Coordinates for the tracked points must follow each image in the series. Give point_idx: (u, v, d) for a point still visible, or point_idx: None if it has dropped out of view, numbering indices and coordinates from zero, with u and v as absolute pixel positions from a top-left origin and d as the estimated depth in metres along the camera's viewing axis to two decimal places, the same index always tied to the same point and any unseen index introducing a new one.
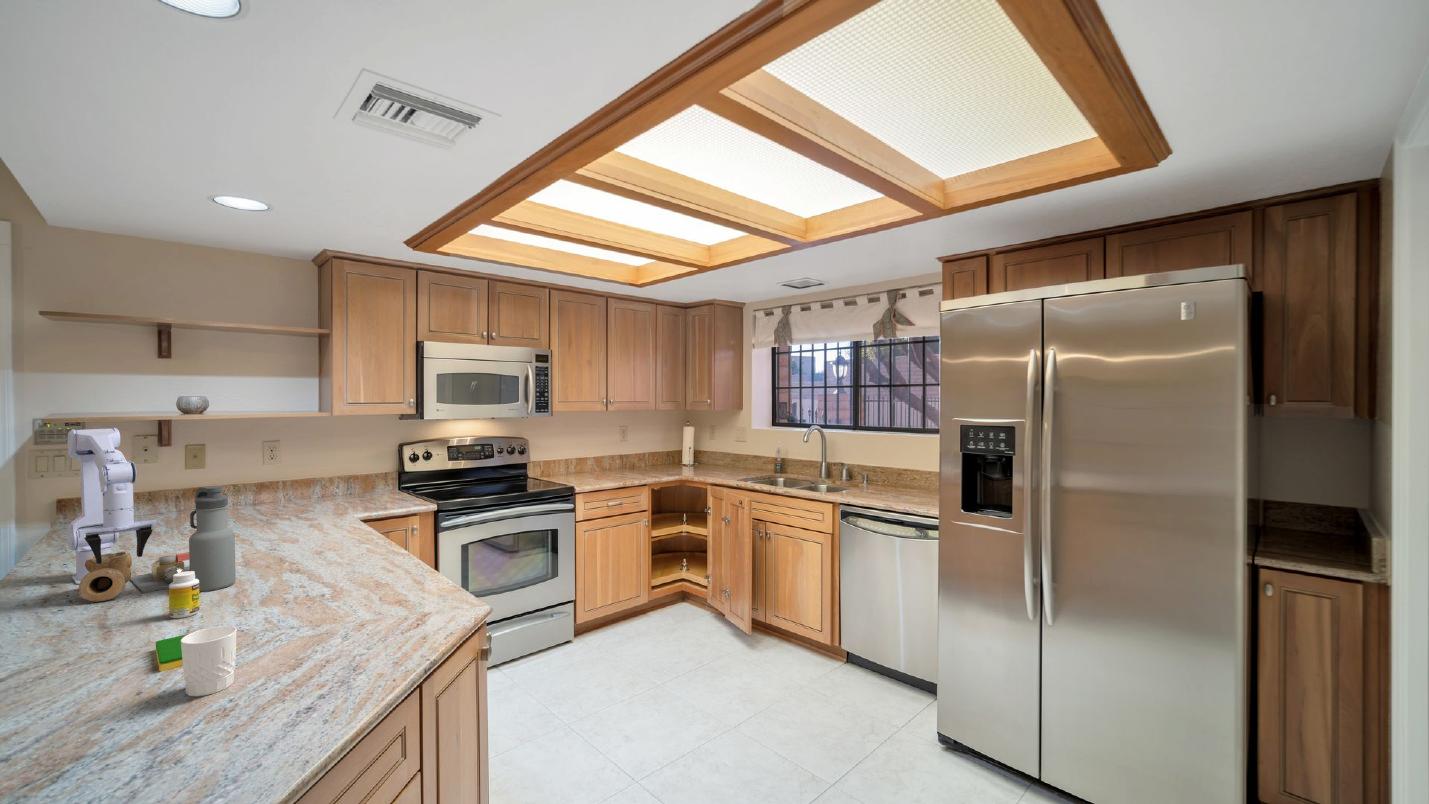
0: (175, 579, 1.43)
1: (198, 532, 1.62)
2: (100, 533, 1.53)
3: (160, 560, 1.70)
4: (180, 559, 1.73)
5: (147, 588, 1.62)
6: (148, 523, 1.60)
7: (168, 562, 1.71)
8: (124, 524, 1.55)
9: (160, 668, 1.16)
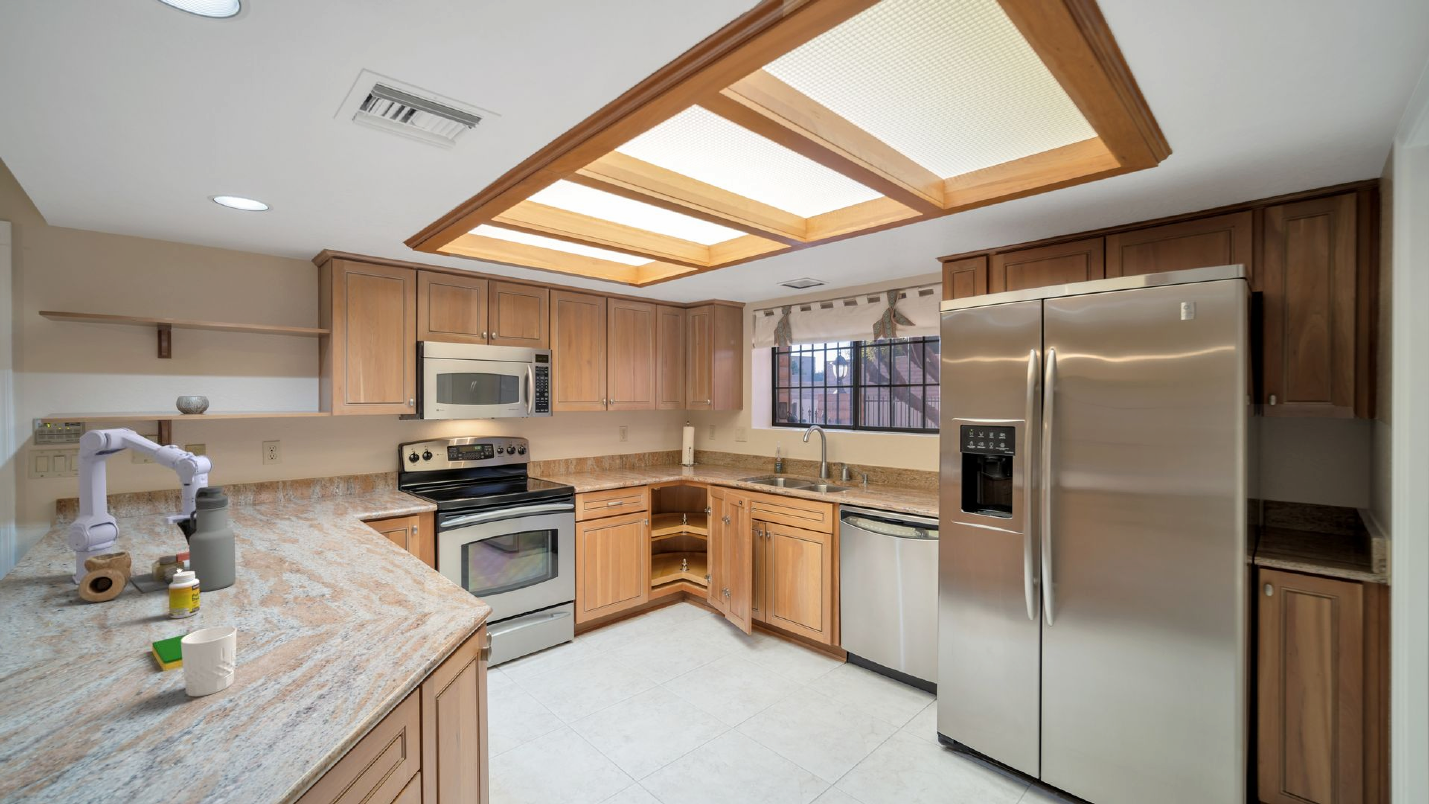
0: (175, 579, 1.43)
1: (198, 532, 1.62)
2: (182, 520, 1.69)
3: (160, 560, 1.70)
4: (180, 559, 1.73)
5: (147, 588, 1.62)
6: None
7: (168, 562, 1.71)
8: None
9: (164, 667, 1.16)
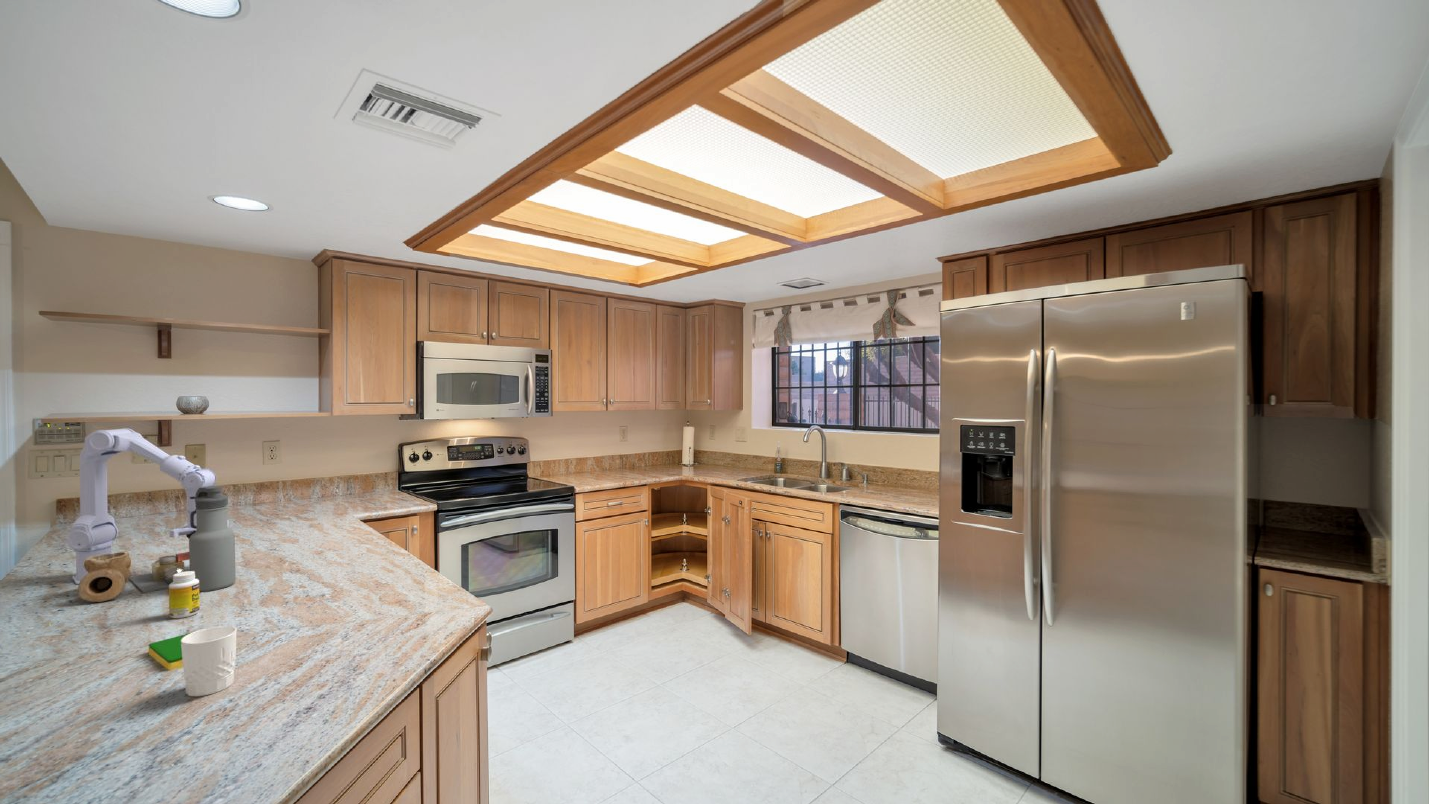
0: (175, 579, 1.43)
1: (198, 532, 1.62)
2: (187, 532, 1.73)
3: (160, 560, 1.70)
4: (180, 559, 1.74)
5: (147, 588, 1.62)
6: None
7: (168, 562, 1.71)
8: None
9: (169, 667, 1.17)
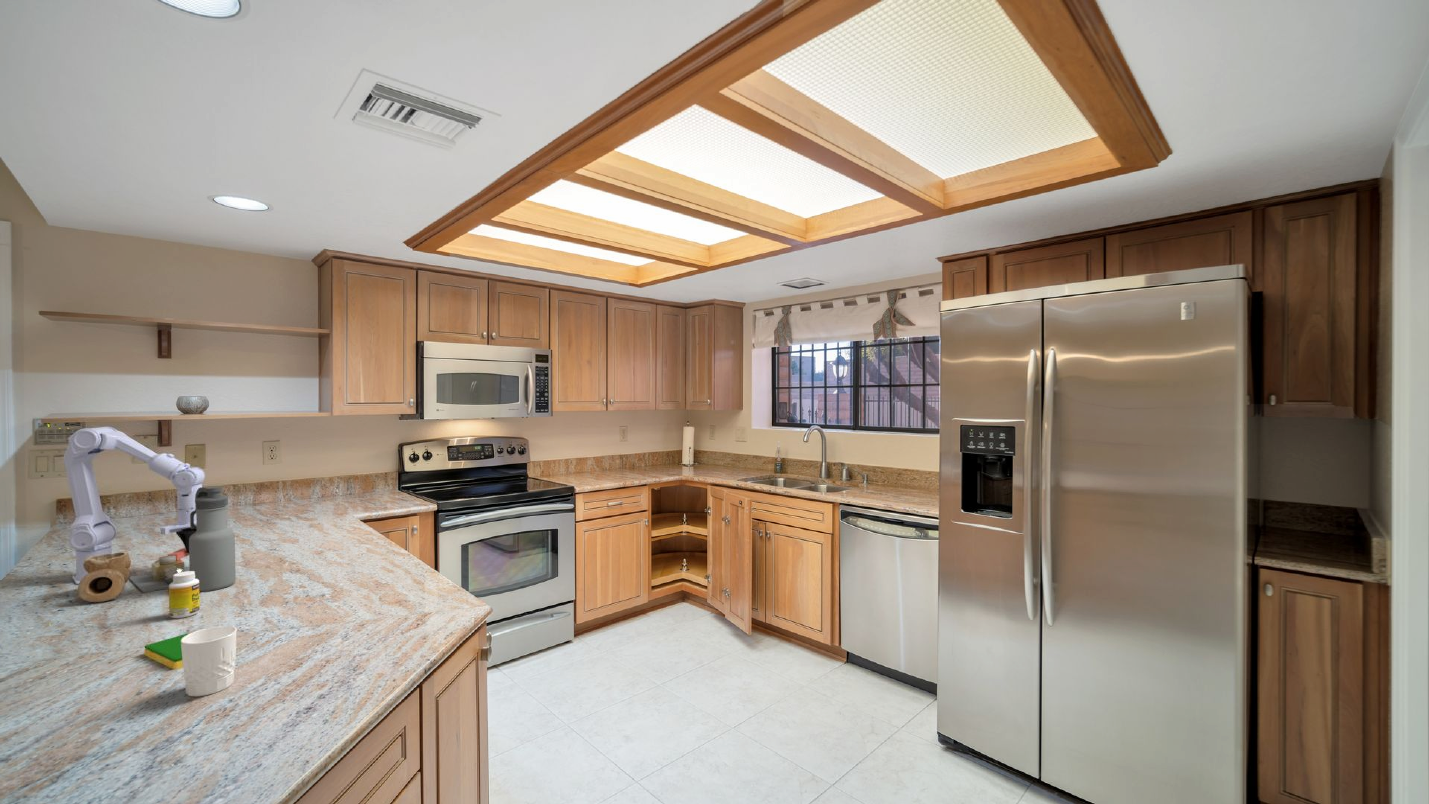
0: (175, 579, 1.43)
1: (198, 532, 1.62)
2: (178, 529, 1.76)
3: (166, 560, 1.71)
4: (178, 558, 1.75)
5: (147, 588, 1.62)
6: None
7: (174, 561, 1.72)
8: None
9: (174, 666, 1.17)
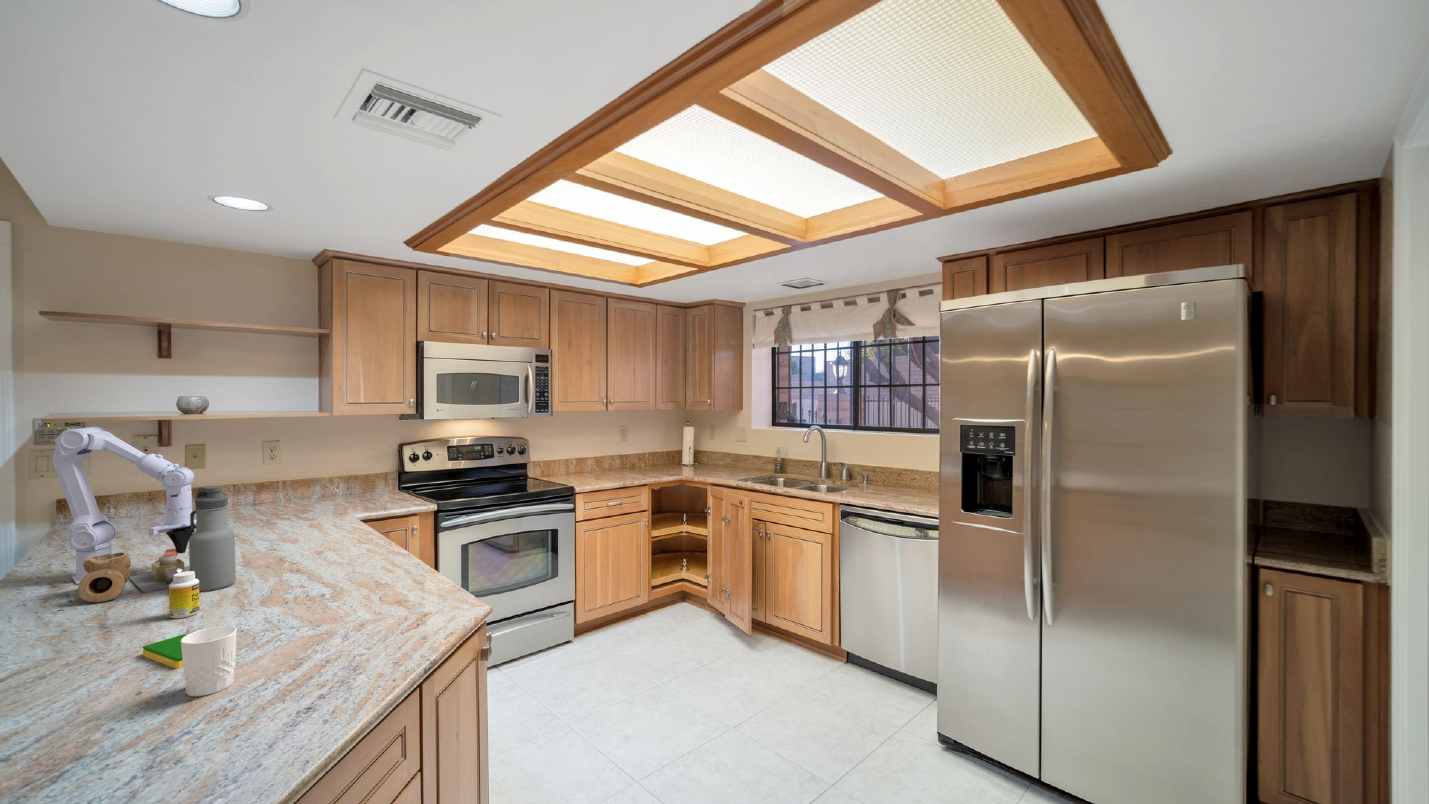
0: (175, 579, 1.43)
1: (198, 532, 1.62)
2: (167, 530, 1.75)
3: (169, 559, 1.71)
4: None
5: (147, 588, 1.62)
6: None
7: (175, 560, 1.73)
8: (188, 521, 1.78)
9: (177, 665, 1.17)
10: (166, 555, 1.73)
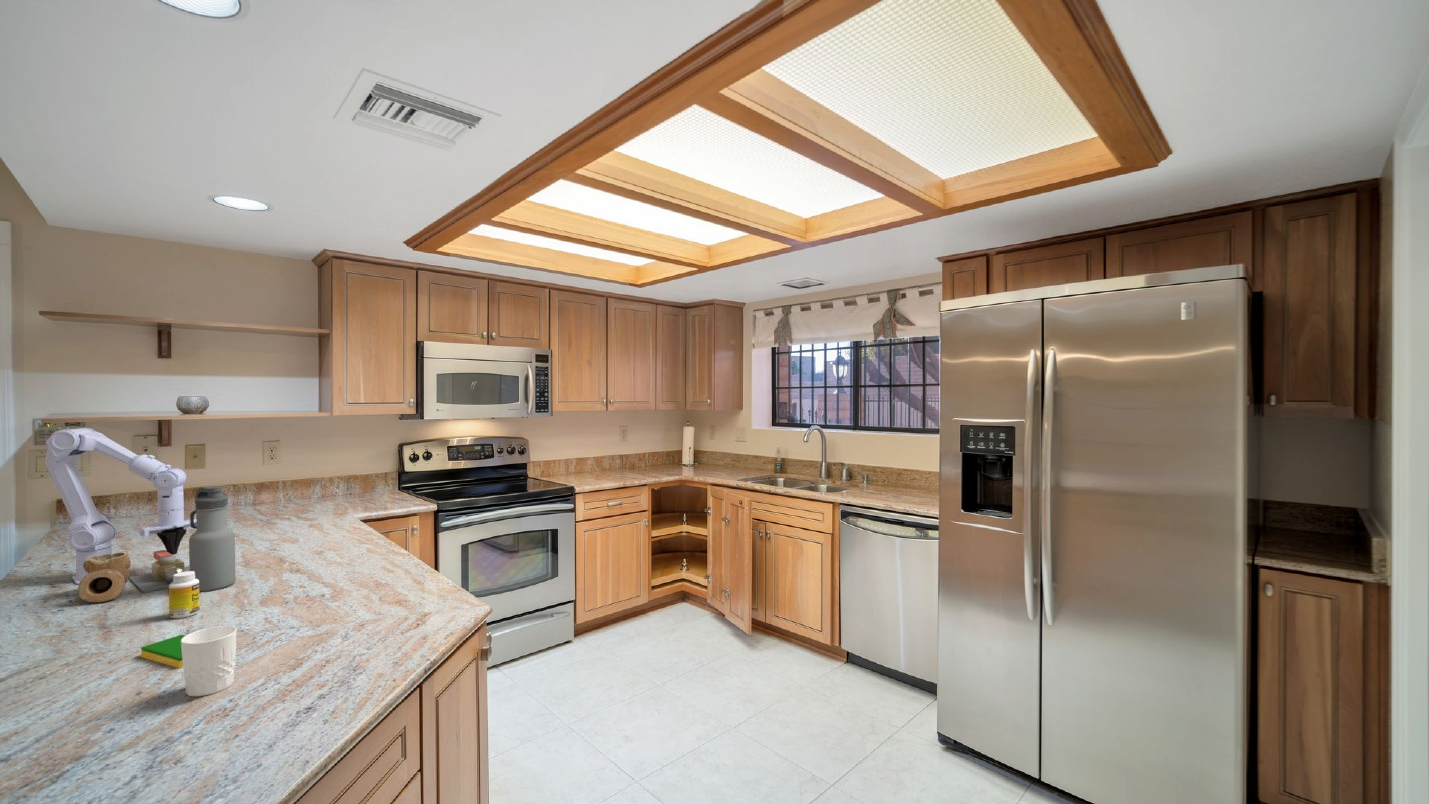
0: (175, 579, 1.43)
1: (198, 532, 1.62)
2: (158, 531, 1.75)
3: (171, 559, 1.72)
4: None
5: (147, 588, 1.62)
6: (195, 521, 1.83)
7: None
8: (180, 522, 1.78)
9: (180, 664, 1.18)
10: (163, 556, 1.73)
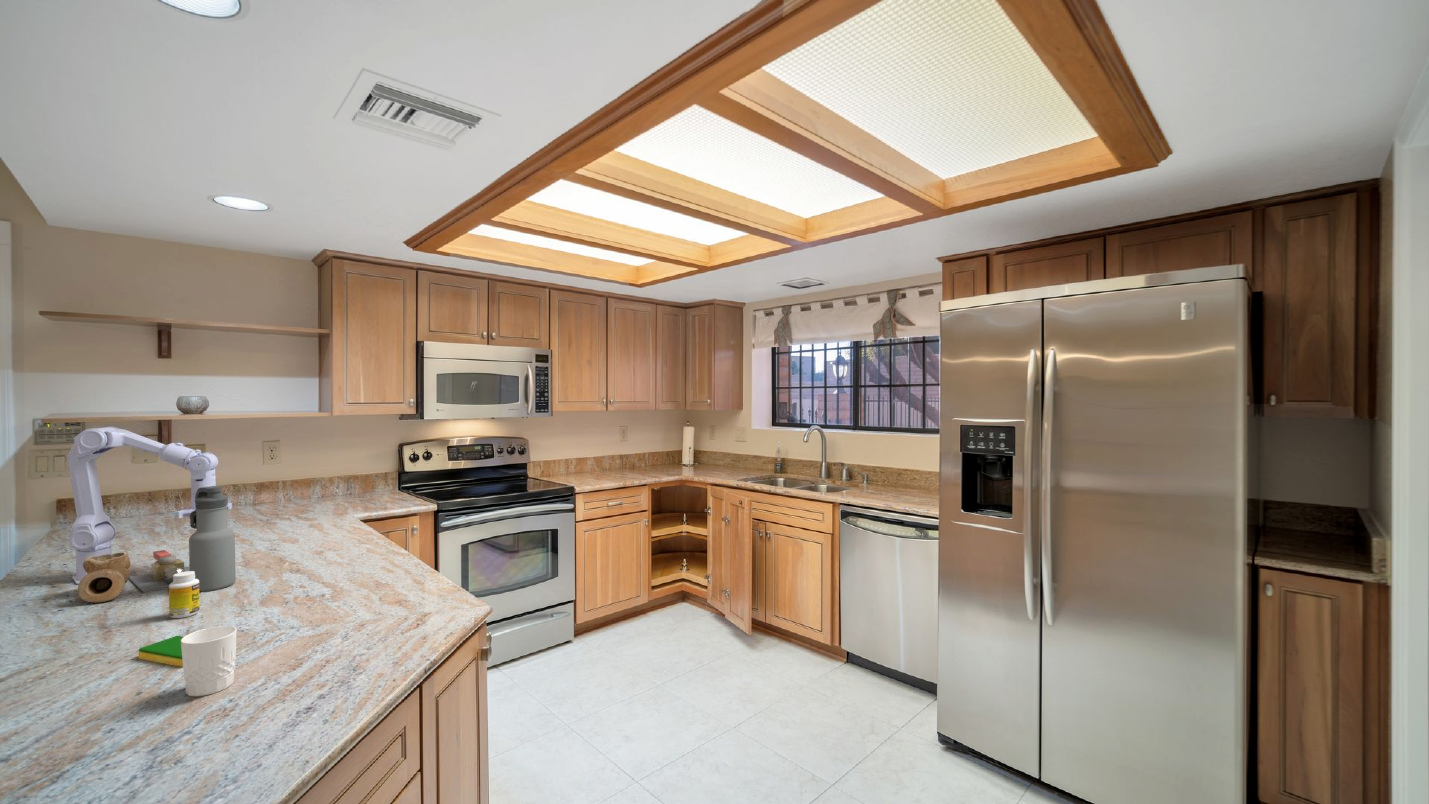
0: (175, 579, 1.43)
1: (198, 532, 1.62)
2: None
3: (171, 559, 1.72)
4: None
5: (147, 588, 1.62)
6: None
7: None
8: None
9: None
10: (163, 556, 1.73)
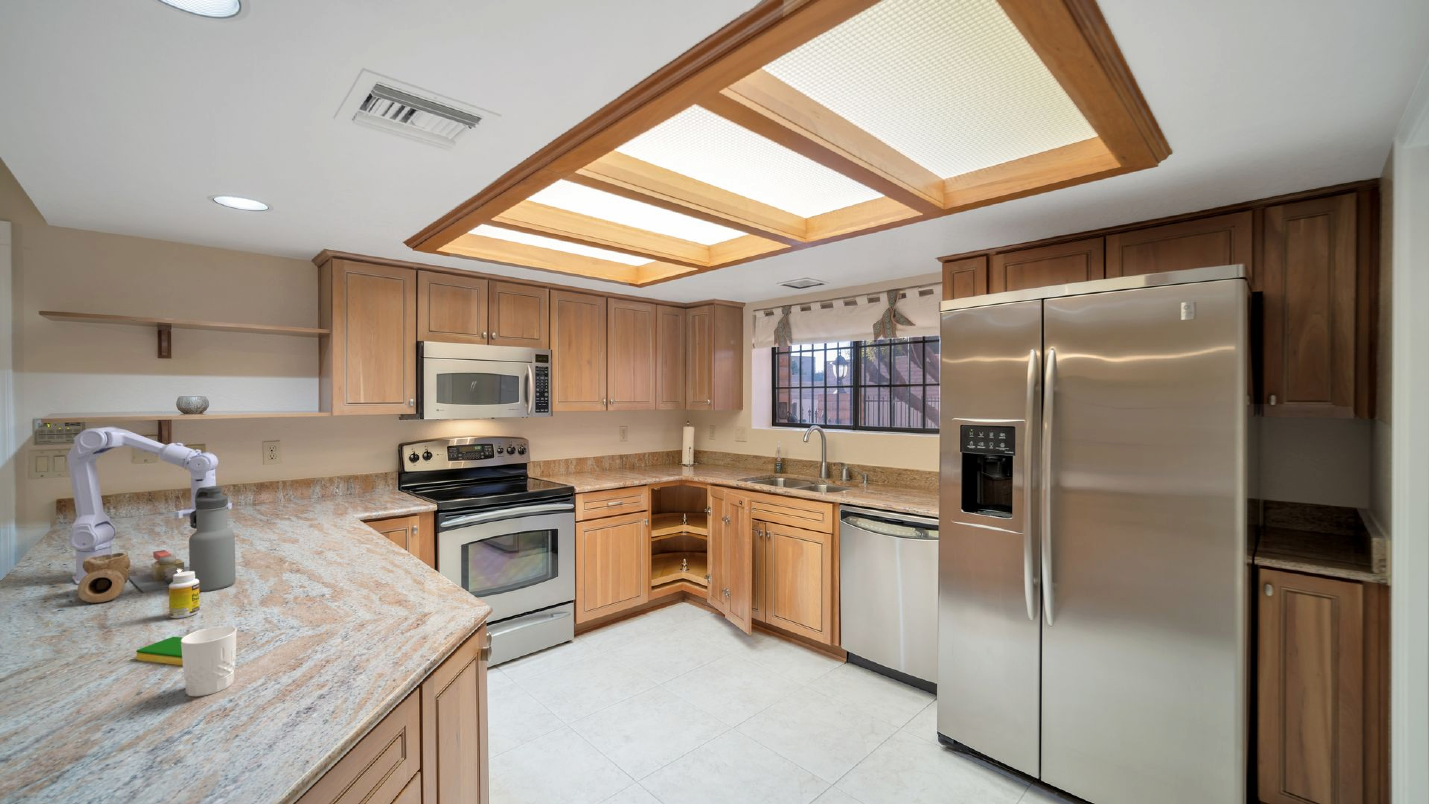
0: (175, 579, 1.43)
1: (198, 532, 1.62)
2: None
3: (171, 559, 1.72)
4: None
5: (147, 588, 1.62)
6: None
7: None
8: None
9: None
10: (163, 556, 1.73)
